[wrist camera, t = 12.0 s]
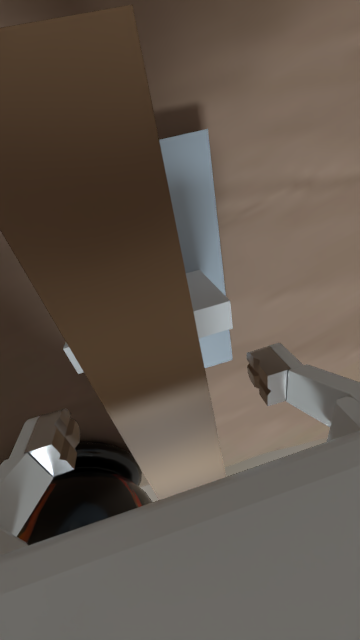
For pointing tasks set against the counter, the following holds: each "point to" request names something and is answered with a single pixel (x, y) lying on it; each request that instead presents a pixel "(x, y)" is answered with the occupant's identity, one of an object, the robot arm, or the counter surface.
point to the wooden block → (105, 234)
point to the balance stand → (197, 242)
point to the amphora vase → (87, 493)
